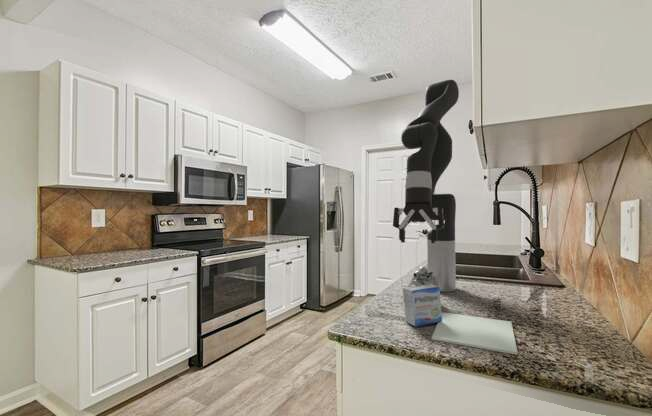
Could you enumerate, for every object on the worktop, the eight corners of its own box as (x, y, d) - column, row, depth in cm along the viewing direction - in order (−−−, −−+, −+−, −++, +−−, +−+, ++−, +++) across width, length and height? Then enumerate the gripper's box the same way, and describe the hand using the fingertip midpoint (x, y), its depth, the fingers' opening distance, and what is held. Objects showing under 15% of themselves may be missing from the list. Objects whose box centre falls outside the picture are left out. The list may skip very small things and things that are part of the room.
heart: (445, 301, 94) (438, 261, 95) (440, 309, 86) (431, 266, 87) (412, 302, 99) (405, 264, 100) (404, 310, 91) (396, 269, 92)
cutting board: (442, 314, 84) (442, 312, 84) (511, 323, 77) (511, 321, 77) (431, 339, 68) (431, 337, 68) (517, 354, 61) (517, 352, 61)
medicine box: (414, 327, 75) (411, 290, 75) (404, 321, 79) (402, 287, 79) (442, 322, 77) (440, 286, 77) (432, 316, 81) (429, 283, 81)
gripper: (445, 190, 93) (445, 244, 91) (397, 191, 100) (396, 242, 97) (442, 184, 87) (442, 243, 84) (391, 186, 93) (390, 241, 91)
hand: (417, 242), depth 91 cm, fingers open, 8 cm apart
